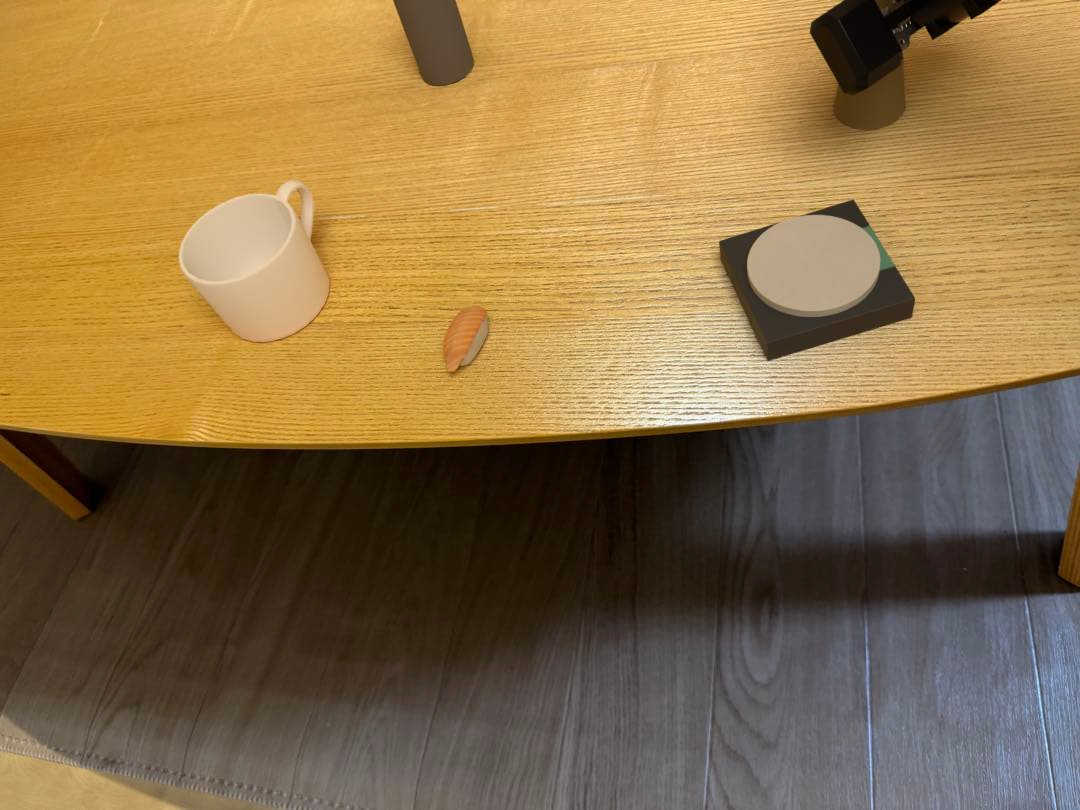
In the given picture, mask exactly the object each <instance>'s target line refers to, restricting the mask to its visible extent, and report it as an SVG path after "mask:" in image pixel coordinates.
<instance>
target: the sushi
mask: <svg viewBox="0 0 1080 810" xmlns="http://www.w3.org/2000/svg"><path fill="white" fill-rule="evenodd" d="M488 334H489V322H488V317H487V310H486V308H484V307H483V306H480V305H472V306H467V307H465V308H463V309H462V310H460V311H459V312H458V313H457V314H456V315H455V316H454V317H453V320H452V321H451V322H450V323H449V326H448V328H447V330H446V333H445V334H444V338H443V342H442V343H443V344H442V348H443V352H444V357H445V360H446V369H447V371H448V372H450V373H453V372H455V371H456V370H457V369H458V368H459V366H460V367H465V366H468V365H470V364H471V363H472V362H473V361H474V360H475V358H476V356H477V355H478V353H479V352H480V349H481V348H482V347H483V345H484V343H485V340H486V338H487V336H488Z"/></svg>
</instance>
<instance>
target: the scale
mask: <svg viewBox="0 0 1080 810" xmlns="http://www.w3.org/2000/svg"><path fill="white" fill-rule="evenodd" d="M718 245H719V258H720V262H721V264H722V266H723V268H724V270H725V272H726V275H727V277H728V279H729V281H730V283H731V286H732V287H733V289H734V291H735V294H736V296H737V299H738V300H739V303H740V305H741V307H742V309H743V311H744V313H745V315H746V317H747V320H748V321H749V324H750V327H751V328H752V330H753V332H754V334H755V337H756V339H757V341H758V343H759V345H760V347H761V350H762V352H763V354H764V356H765V358H766V360H767V362H769V361H773V360H777V359H780V358H782V357H785V356H789V355H793V354H796V353H799V352H803V351H806V350H809V349H813V348H815V347H818V346H822V345H826V344H828V343H833V342H836V341H839V340H842V339H845V338H848V337H852V336H855V335H858V334H862V333H865V332H868V331H872V330H875V329H879V328H883V327H885V326H888V325H892V324H895V323H899V322H902V321H906V320H908V319H911V318H913V315H914V309H915V303H916V297H915V296H914V294H913V292H912V291H911V289H910V287H909V285H908V284H907V282H906V281H905V279H904V278H903V276H902V275H901V272H900V271H899V270H898V268H897V266H896V264H895V263H894V262H893V260H892V259H891V257H890V255H889V254H888V252H887V250H886V249H885V247H884V246H883V244H882V242H881V241H880V239H879V238H878V236H877V235H876V233H875V231H874V229H873V228H872V226H871V225H870V223H869V222H868V220H867V218H866V217H865V215H864V214H863V212H862V210H861V209H860V207H859V206H858V204H857V203H856V201H855V199H854V198H853V199H850V200H846V201H844V202H843V201H842V202H841V203H838V204H834V205H829V206H828V207H824V208H821V209H818V210H815V211H812V212H808V213H805V214H802V215H799V216H796V217H791V218H788V219H784V220H783V221H779V222H775V223H773V224H770V225H767V226H763V227H759V228H756V229H754V230H749V231H746V232H743V233H741V234H737V235H734V236H731V237H727V238H724V239H721V240H719V241H718Z"/></svg>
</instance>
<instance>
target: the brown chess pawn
mask: <svg viewBox="0 0 1080 810" xmlns="http://www.w3.org/2000/svg"><path fill="white" fill-rule="evenodd" d="M875 1H876V3H877V5H878V7H879V8H880V10H883V9H885V8H886V7H888V8H889V9H890V11H891V12H892V11H893V10H895V9H896V8H897V7H899V6H900V5H902V4H903V0H902V1H900V2H899V3H898V4H896V5H894V4H893V3H892V2H891V0H875ZM910 17H911V16H910ZM910 17H908V18H907V19H905V20H904V21H902V22H901V23H900V24H898V26H899V27H900V26H902V25H903V24H904V23H906V22H907V21H909V20H910ZM899 31H900V30H899ZM899 31H897V32H899ZM897 32H896V33H897ZM896 33H895V34H896ZM902 56H903V57H904V52H903V53H902ZM904 65H905V64H904V59H903V60H901V66H899V67H898V68H896V69H895V70H893V71H892V72H891V73H889V74H888V75H886V76H885V77H883V78H882V79H880V80H879V81H878V82H876V83H875V84H873V85H872V86H870V87H869V88H867V89H866V90H864V91H862V92H860V93H858V94H856V95H854V96H852V95H848V94H845V93H843V91H842V89H841V87H840V86H839V84H838V83H837V87H836V91H835V95H834V101H833V106H832V107H833V108H832V109H833V114H834V116H835V118H836V120H838V121H839V122H840V123H841V124H842V125H844V126H847V127H849V128H852V129H857V130H877V129H881V128H885V127H888V126H890V125H891V124H893V123H895V122H897V121H898V120H899V119H900V118H901V117H902V116H903V115H904V112H905V110H906V106H907V105H906V87H905V85H906V84H905V68H904Z"/></svg>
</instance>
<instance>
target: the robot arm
mask: <svg viewBox="0 0 1080 810" xmlns="http://www.w3.org/2000/svg"><path fill="white" fill-rule="evenodd" d="M900 1H902V0H891V2H892V3H893V4H894V5H896V4H898V3H899V2H900ZM1000 2H1002V0H903V4H902V5H900V6H899V7H897V8H896V9H895V10H893V11H892V12H891V11H890V9H889V8H888V7H886V8H885V9H883V10H880V8H879V7H878V5H877V3H876V1H875V0H842V1H840V2H839V3H838V4H836V5H835V6H833V7H831V8H830V9H828V10H827V11H826V12H824V13H823V14H821V15H819V16H818V17H816V18H815V19H814V20H812V21H811V23H810V27H809V34H810V36H811V38H812V39H813V41H814V43H815V45H816V47H817V49H818V50H819V52H820V54H821V56H822V58H823V60H824V61H825V64H827V67H828V68H829V70H830V71H831V73H832V75H833V77H834V79H835V80H836V82H837V85H838V84H839V86H840V87H841V89H842V91H843V93H845V94H848V95H852V96H854V95H856V94H858V93H860V92H862V91H864V90H866V89H867V88H869V87H870V86H872V85H873V84H875V83H876V82H878V81H879V80H880V79H882V78H883V77H885V76H886V75H888V74H889V73H891V72H892V71H893V70H895V69H896V68H898V67H899V66H901V60H903V61H904V55H903V56H902V53H903V54H904V53H905V52H906V51H908V49H909V48H910V46H911V37H912V36H913V35H915V34H916V33H917V32H919V31H920V30H922V29H923V28H925V30H926V32H927V33H928V35H929V37H930V39H931V41H934V40H935V39H938V38H939V37H941V36H943V35H944V34H946V33H948V32H949V31H950V30H952V29H953V28H955V27H956V26H957V25H959V24H960V23H962V22H963V21H964V20H966V19H970V20H973V19H975V18H977V17H979V16H981V15H983V14H984V13H985V12H987V11H988V10H991V8H993V7H995V6H996V5H997V4H998V3H1000ZM910 16H911V17H910ZM908 17H910V20H909V21H907V22H906V23H904V24H903V25H902V26H900V27H899V26H898V24H900V23H901V22H902V21H904V20H905V19H907V18H908ZM899 30H900V31H899ZM897 31H899V32H897ZM896 32H897V33H896ZM895 33H896V34H895Z"/></svg>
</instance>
